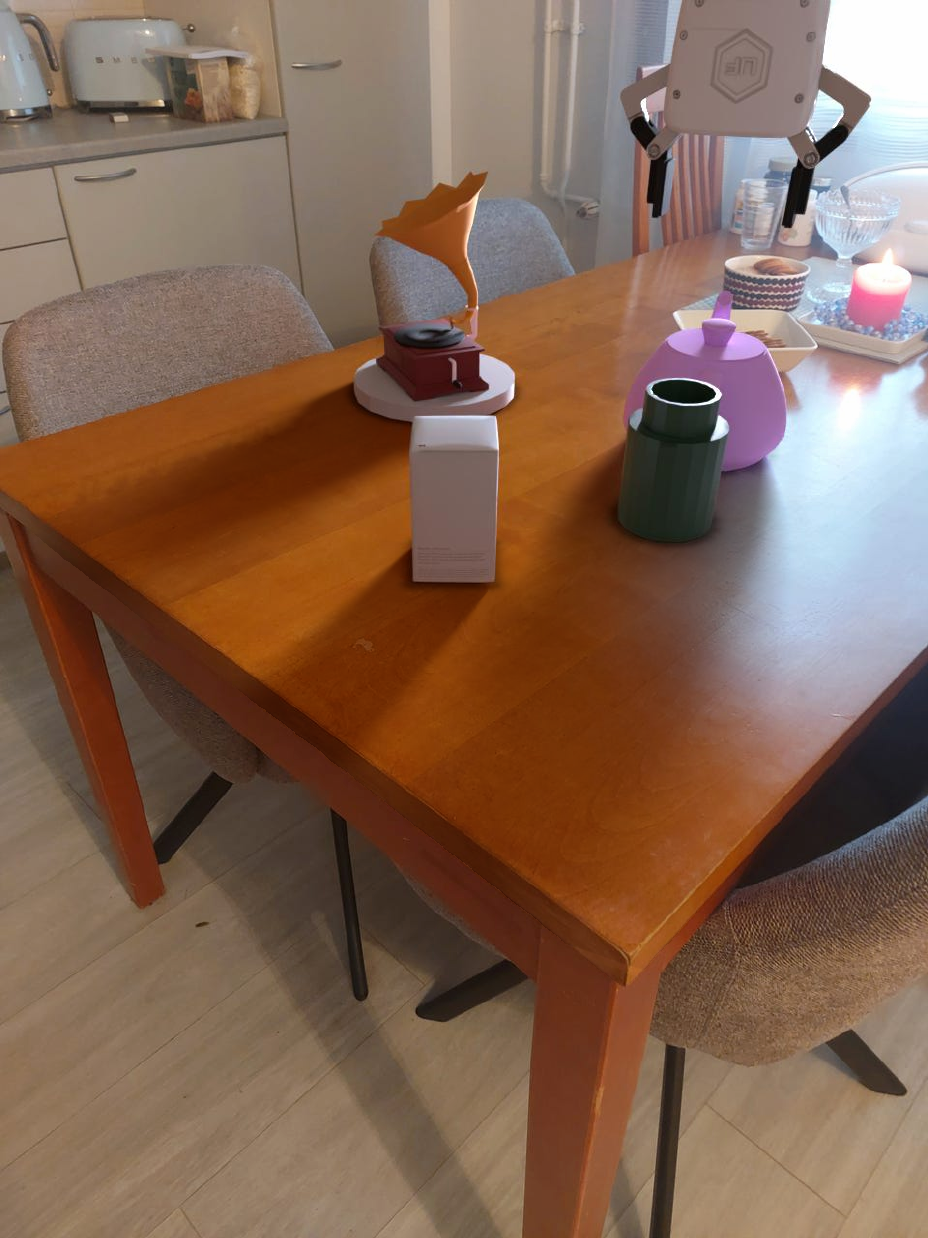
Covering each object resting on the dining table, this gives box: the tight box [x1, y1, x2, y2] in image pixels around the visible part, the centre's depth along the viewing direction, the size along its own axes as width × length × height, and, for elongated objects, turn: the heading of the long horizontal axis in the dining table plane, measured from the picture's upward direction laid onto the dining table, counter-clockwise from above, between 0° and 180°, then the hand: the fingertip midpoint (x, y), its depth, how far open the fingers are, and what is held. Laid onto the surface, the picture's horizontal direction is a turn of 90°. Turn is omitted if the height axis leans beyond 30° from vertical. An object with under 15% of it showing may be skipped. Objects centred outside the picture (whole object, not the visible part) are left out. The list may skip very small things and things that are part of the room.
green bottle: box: [617, 378, 730, 543], centre depth 83 cm, size 9×9×13 cm
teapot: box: [622, 290, 788, 472], centre depth 98 cm, size 25×18×14 cm
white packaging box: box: [408, 415, 500, 584], centre depth 77 cm, size 7×7×13 cm
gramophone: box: [352, 170, 516, 423], centre depth 107 cm, size 20×20×25 cm
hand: (722, 219), depth 68 cm, fingers open, 9 cm apart
